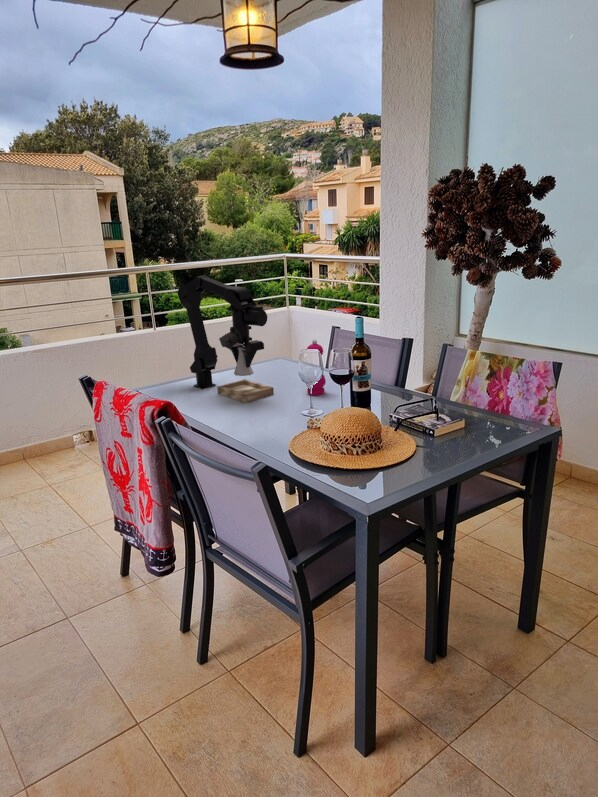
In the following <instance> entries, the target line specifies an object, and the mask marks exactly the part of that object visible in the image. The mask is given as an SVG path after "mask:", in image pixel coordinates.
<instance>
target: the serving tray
mask: <svg viewBox="0 0 598 797" xmlns="http://www.w3.org/2000/svg"><path fill="white" fill-rule="evenodd" d="M216 390H217V395H220V394H221V396H223V395H224V396H223V397H226V396H227V397H226V398H229V397H230V399H232V398H233V399H232V400H235V399H236V400H235V401H238V400H239V402H241V401H242V403H244V402H245V404H248V403H252V402H254V401H258V400H261V399H264V398H268V397H271V396H274V395H275V393H274V387H273V386H270V385H266V384H263V383H260V382H259V383H258V382H255V381H253V380H248V379H247V378H246V379H241V380H237V381H234V382H230V383H226V384H222V385H219V386H217V387H216ZM247 402H248V403H247Z"/></svg>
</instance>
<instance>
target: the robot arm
mask: <svg viewBox="0 0 598 797" xmlns="http://www.w3.org/2000/svg"><path fill="white" fill-rule="evenodd" d="M205 291H207V292H210V293H213V294H215V295H216V296H220V297H222V298H223V299H224V300H225V302H227V303H228V304H230V306H228V307H227V309H226V311H227V312H231V319H232V321H231V322H232V326H230V328H229V332H227V333H225V334H224V335H223V336H221V337H219V342H220V345H221V347H222V348H226V349H228V350H229V351H231V353H232V355H233V358H234V360H235V363H236V364H237V361H238V357H239V349H238V347H244V348H245V350H241V351H242V352H243V353H244V354H245V361H246V367H247V368H249V367H250V366H251V365H252V362H253V360H254V358H255V356H256V354H257V351H261V350H264V349H265V343H264V342H263V341H261V340H257V339H254V340H253V337H251V336H250V330H252V326H257V327H264V326H265V325H266V324H267V321H268V315H267V312H266V311H265V309H264V307H263V305H262V306H261V305H259V306H257V305H258V304H256V302H255V300H254V298H253V297H252V295H251V294H250V291H249V289H248V288H246V287H243V286H236V285H235V286H234V285H233V286H232V285H228V284H226V283H223V282H220V281H219V280H216V279H213V278H211V277H209V276H207V275H200V276H199V275H198V276H196V277H195V278H193V279H192V280H190V281H188V282H186V283H185V284H184V285H181V286H179V287H178V289H177V297H178V299H179V303H180V304H181V305H182V307H183V308H184V309H185V310H186V312H187V313H186V314H187V317H188V320H189V324H190V329H191V333H192V336H193V340H194V345H195V348H194V352H193V358H194V361H193V362H192V363H191V365H190V367H189V369H190V372H191V373H193V374H195V378H196V379H195V380H196V383H195V384H193V387H195V388H197V389H198V388H199V389H201V390H204V389H207V388H211V387H215V386H217V385H216V384H215V383H214V382H213V375H212V371H213V370H216V366H217V363H218V354H217V351H216V350H217V349H216V347H212V346H211V345H210V343H209V340H208V336H207V331H206V328H205V324H204V320H203V316H202V312H201V309H200V308H201V307H200V306H201V303H202V293H204V292H205Z"/></svg>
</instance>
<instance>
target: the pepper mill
mask: <svg viewBox="0 0 598 797" xmlns="http://www.w3.org/2000/svg"><path fill="white" fill-rule="evenodd" d="M311 343H312V344H309V345H308V346H307V347H306V350H307V349H318V350H319V351H320V353H321V355H322V356H323V354H324V348H323V346H322V345H320V344H318V340H316V339H313V340H312V342H311ZM305 385H306V386H307V389H306V391H307V395H309V394H310V389H309V386H308V385H307V384H306V383H305ZM325 385H326V377H325V375H324V374H323V375H322V378H321V379H320V380H319V381H318V383H316V384H315V385H313V388H312V395H311V396H313V395H315V396H317V395H318V396H322V394H323V395H325V387H324V386H325ZM315 396H314V397H315ZM318 396H317V397H318Z"/></svg>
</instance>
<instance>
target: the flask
mask: <svg viewBox="0 0 598 797" xmlns="http://www.w3.org/2000/svg"><path fill="white" fill-rule="evenodd" d="M238 349H239V357H238V361H237V363H236V366H235V368H234V373H233V375H235V377H236V376H238V377H244V376H251V375H253V374H254V370H253V368H252V366H251V365H250V367H249V368H247V367H246V361H245V354H244V353H243V352H242V351H241V350H245V348H244V346H243V347H238Z"/></svg>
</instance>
